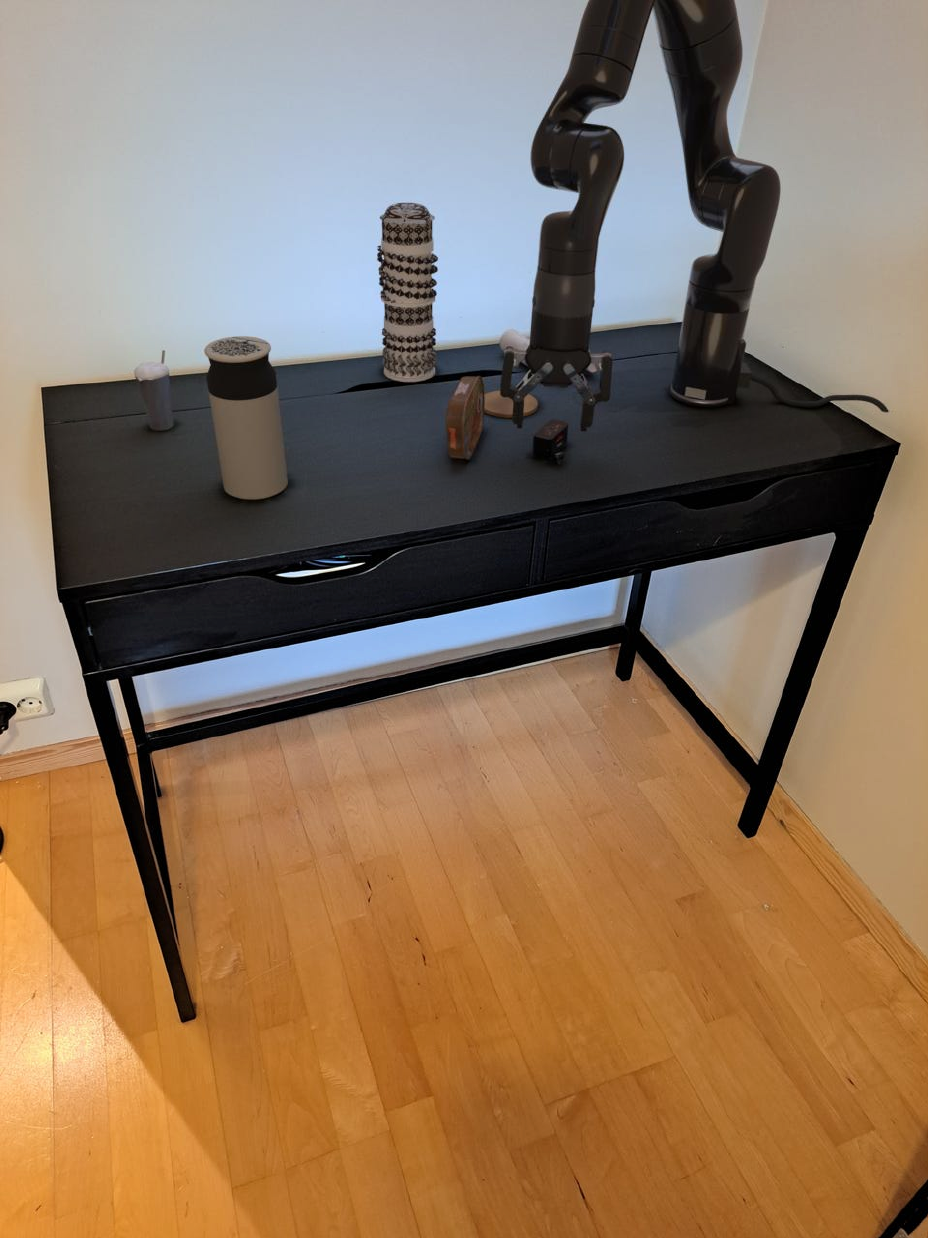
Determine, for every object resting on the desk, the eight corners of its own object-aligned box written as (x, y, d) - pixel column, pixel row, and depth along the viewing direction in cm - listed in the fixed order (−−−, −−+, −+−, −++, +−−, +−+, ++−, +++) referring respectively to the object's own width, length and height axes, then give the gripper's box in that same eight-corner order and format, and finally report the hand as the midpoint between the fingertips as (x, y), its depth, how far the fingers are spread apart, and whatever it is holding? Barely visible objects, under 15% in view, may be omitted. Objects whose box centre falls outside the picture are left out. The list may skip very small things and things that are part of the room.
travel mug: (258, 508, 109) (238, 364, 99) (210, 490, 113) (186, 349, 102) (301, 482, 115) (287, 343, 104) (254, 466, 118) (236, 330, 108)
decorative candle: (369, 374, 144) (362, 207, 129) (402, 357, 151) (399, 196, 136) (416, 387, 141) (414, 216, 126) (448, 369, 147) (450, 204, 132)
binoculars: (548, 345, 157) (550, 318, 154) (604, 376, 146) (607, 347, 143) (497, 354, 153) (499, 327, 150) (551, 387, 142) (553, 358, 139)
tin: (465, 470, 118) (466, 410, 113) (442, 467, 119) (442, 407, 114) (486, 423, 130) (488, 367, 125) (464, 421, 131) (465, 365, 126)
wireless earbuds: (527, 459, 121) (529, 437, 119) (549, 439, 126) (551, 418, 124) (559, 467, 120) (561, 445, 118) (580, 447, 125) (582, 425, 123)
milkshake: (189, 421, 129) (177, 353, 123) (164, 435, 125) (150, 365, 119) (163, 415, 131) (150, 347, 125) (138, 429, 127) (123, 359, 121)
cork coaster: (537, 394, 139) (537, 390, 139) (538, 418, 132) (539, 414, 132) (479, 392, 139) (479, 388, 139) (477, 416, 132) (477, 412, 132)
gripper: (617, 298, 114) (602, 418, 123) (505, 293, 114) (498, 413, 124) (623, 317, 108) (606, 442, 117) (505, 312, 108) (497, 437, 118)
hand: (551, 427), depth 120 cm, fingers open, 8 cm apart
